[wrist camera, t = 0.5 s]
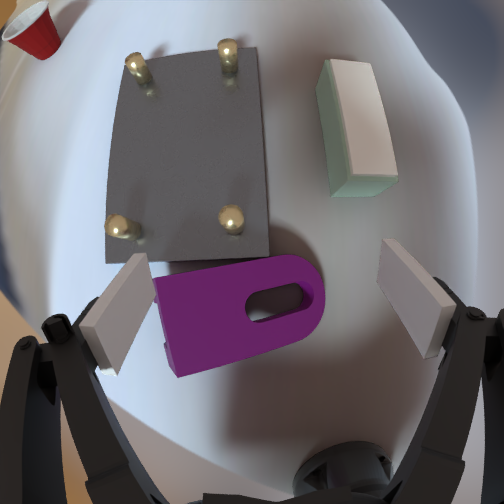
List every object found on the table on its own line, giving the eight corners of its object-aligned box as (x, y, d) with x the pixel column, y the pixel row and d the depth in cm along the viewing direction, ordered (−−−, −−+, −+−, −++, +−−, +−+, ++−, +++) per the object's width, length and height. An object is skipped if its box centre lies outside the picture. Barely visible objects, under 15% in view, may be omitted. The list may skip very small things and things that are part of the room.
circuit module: (373, 196, 35) (401, 179, 27) (330, 197, 35) (350, 178, 27) (354, 92, 36) (372, 61, 28) (314, 90, 36) (326, 55, 28)
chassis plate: (268, 256, 35) (272, 254, 28) (110, 263, 35) (85, 262, 28) (255, 53, 36) (256, 25, 30) (127, 70, 37) (113, 46, 30)
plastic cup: (81, 27, 38) (57, -8, 26) (53, 67, 37) (22, 34, 25) (48, 33, 38) (24, 4, 26) (23, 71, 37) (-7, 44, 25)
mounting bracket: (279, 257, 41) (147, 281, 33) (316, 248, 33) (154, 277, 25) (292, 324, 40) (164, 359, 32) (331, 329, 33) (177, 377, 25)
